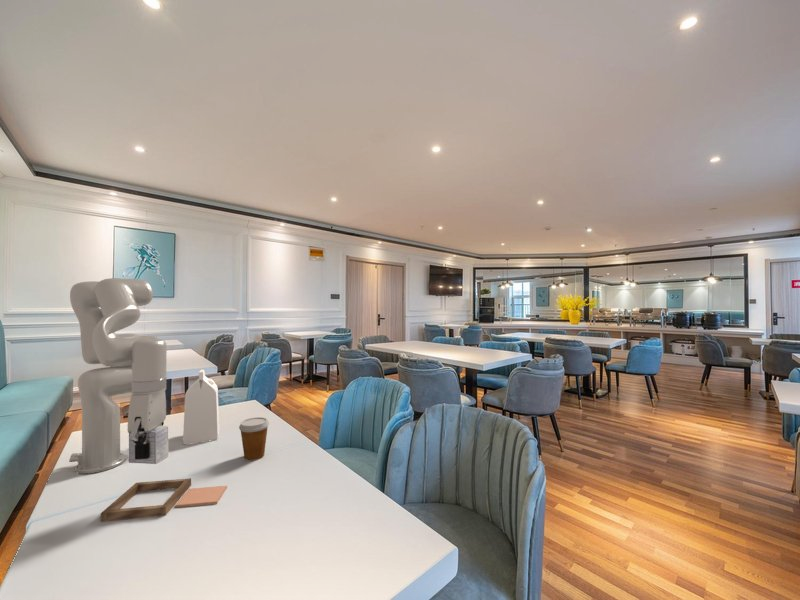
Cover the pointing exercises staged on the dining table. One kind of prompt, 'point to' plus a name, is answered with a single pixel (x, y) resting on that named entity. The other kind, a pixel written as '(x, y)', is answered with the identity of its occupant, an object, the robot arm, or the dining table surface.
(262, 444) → the disposable coffee cup
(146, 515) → the board
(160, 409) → the robot arm
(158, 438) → the medicine box
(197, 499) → the terracotta tile
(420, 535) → the dining table surface
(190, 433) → the milk
